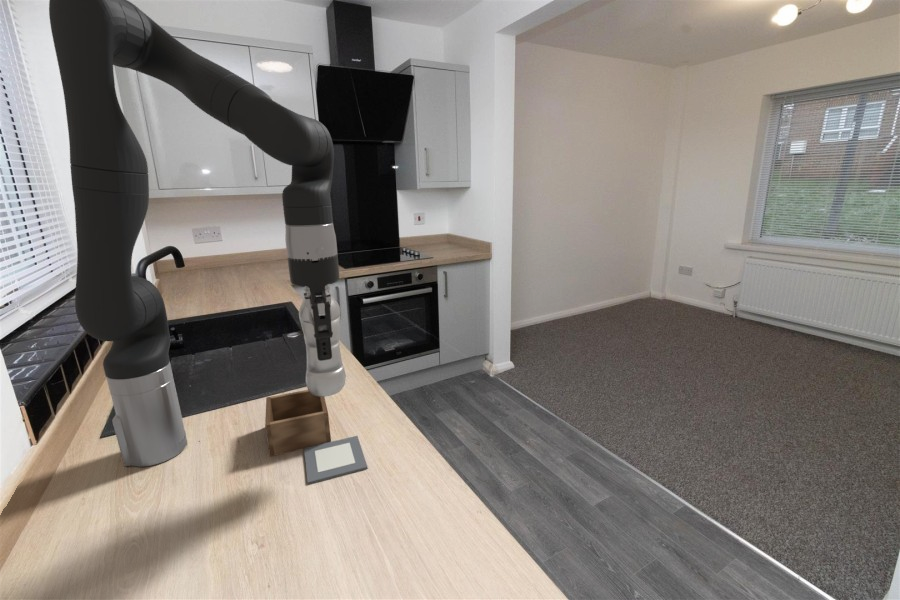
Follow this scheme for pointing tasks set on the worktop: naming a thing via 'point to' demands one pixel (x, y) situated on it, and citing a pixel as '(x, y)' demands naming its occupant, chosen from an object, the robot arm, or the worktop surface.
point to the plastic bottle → (319, 374)
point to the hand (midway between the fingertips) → (322, 351)
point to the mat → (334, 459)
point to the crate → (296, 422)
